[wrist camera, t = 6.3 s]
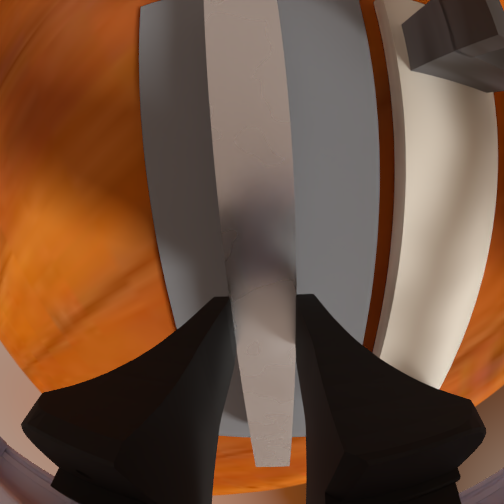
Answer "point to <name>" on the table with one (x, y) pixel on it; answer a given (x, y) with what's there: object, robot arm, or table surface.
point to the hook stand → (439, 174)
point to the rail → (256, 209)
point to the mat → (304, 164)
